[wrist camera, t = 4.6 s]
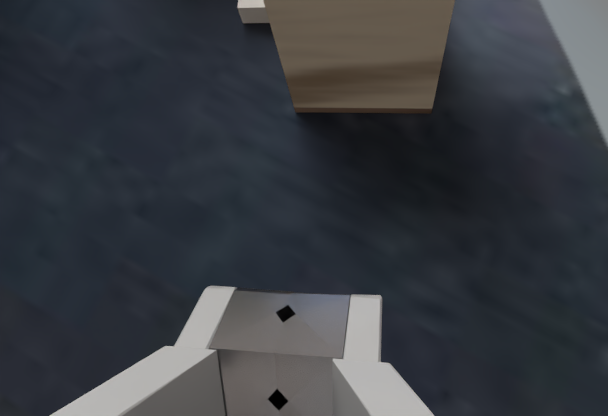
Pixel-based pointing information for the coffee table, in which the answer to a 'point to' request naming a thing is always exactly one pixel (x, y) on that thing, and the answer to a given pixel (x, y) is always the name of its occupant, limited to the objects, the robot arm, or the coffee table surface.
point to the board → (252, 11)
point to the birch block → (361, 53)
